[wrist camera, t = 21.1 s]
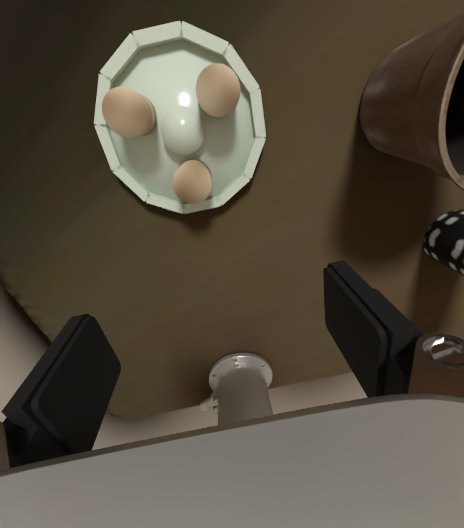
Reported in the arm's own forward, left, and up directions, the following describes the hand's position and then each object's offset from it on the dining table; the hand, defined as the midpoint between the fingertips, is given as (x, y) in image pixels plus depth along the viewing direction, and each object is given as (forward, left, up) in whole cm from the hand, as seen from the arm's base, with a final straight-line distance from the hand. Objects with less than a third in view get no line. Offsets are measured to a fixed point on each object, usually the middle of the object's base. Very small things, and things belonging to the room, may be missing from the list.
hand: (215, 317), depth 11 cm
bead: (+7, +7, -27) cm, 29 cm away
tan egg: (-1, +12, -27) cm, 30 cm away
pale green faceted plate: (+2, +7, -28) cm, 29 cm away
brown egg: (-1, +2, -27) cm, 27 cm away
